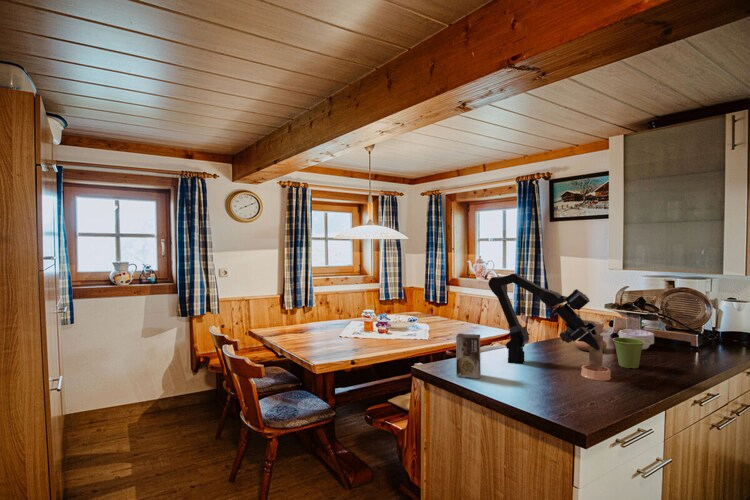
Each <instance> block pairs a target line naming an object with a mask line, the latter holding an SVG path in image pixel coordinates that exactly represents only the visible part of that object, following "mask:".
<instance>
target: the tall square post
mask: <svg viewBox="0 0 750 500" xmlns="http://www.w3.org/2000/svg"><path fill="white" fill-rule="evenodd" d="M593 336H594V338H595V340H596V342H597V344H598V346H599V348H600V349H599V350H596V349H594V348H593V347H591V346H590V345H589V351H588V365H589V366H592V367H597V368H601V367H602V366H603V364H604V363H603V362H604V361H603V360H604V359H603V358H604V357H603V356H604V355H603V353H604V350H603V341H604V335H602V334H600V335H594V334H593Z"/></svg>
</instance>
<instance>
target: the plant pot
mask: <svg viewBox="0 0 750 500" xmlns="http://www.w3.org/2000/svg"><path fill="white" fill-rule="evenodd" d="M612 341H613V343H614V347H615V351H616V357H617V361H618V366H619V367H621V368H625V369H638V368H639V366H640V360H641V355H642V350H643V349H642V348H643V344H644V343H645V342H644V341H642V340H639V339H634V338H619V337H614V338H612Z"/></svg>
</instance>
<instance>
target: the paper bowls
mask: <svg viewBox="0 0 750 500" xmlns="http://www.w3.org/2000/svg"><path fill="white" fill-rule="evenodd" d="M618 338H634V339H639V340H642V341H644V342H645V343H644V344H643V348H642V350H647V349H649V348H650V346H651V345H654V344H655V333H653V332H651V331H648V330H644V329H629V328H627V329H622V330H621V329H620V330H619V331H618Z"/></svg>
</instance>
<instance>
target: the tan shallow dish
mask: <svg viewBox="0 0 750 500" xmlns="http://www.w3.org/2000/svg"><path fill="white" fill-rule="evenodd" d="M580 375H581V377H582V378H585V379H588V380H592V381H601V382H604V381H606V382H607V381H610V380H611V378H612V377H611V369H610V368H609V367H606V366H602V367H601V368H597V367H592V366H589V364H583V365H582V366H581V372H580Z"/></svg>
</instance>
